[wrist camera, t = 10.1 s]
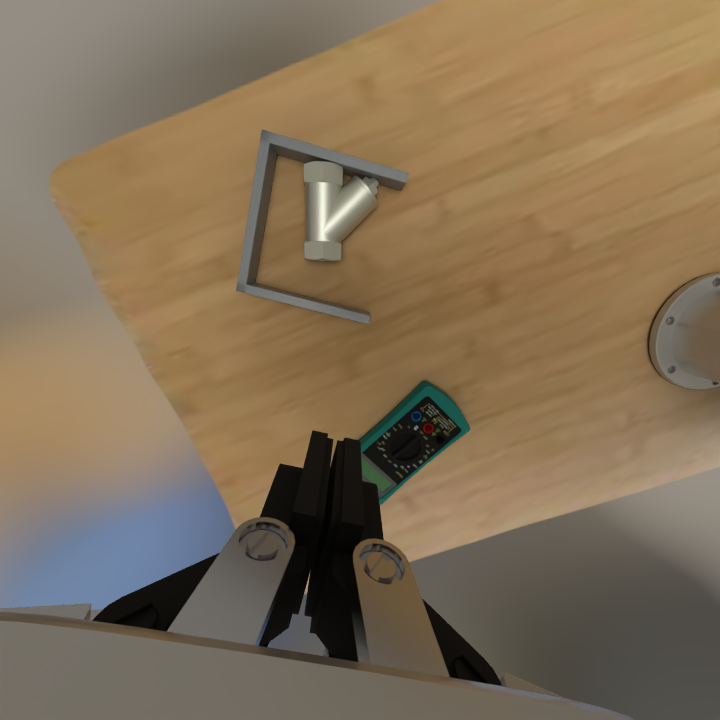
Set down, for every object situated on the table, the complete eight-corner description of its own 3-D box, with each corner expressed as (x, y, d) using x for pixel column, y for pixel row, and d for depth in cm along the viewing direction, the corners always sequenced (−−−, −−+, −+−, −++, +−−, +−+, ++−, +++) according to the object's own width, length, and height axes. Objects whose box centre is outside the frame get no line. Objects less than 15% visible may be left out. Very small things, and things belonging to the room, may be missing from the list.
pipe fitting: (376, 176, 32) (305, 172, 32) (382, 164, 29) (302, 158, 28) (372, 262, 34) (306, 260, 34) (378, 261, 31) (303, 259, 30)
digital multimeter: (468, 417, 39) (477, 428, 36) (376, 495, 41) (378, 511, 38) (427, 374, 37) (433, 382, 35) (334, 458, 40) (332, 472, 37)
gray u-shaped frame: (403, 181, 32) (408, 173, 29) (367, 319, 35) (368, 324, 32) (270, 142, 31) (262, 129, 28) (246, 288, 34) (236, 290, 31)
